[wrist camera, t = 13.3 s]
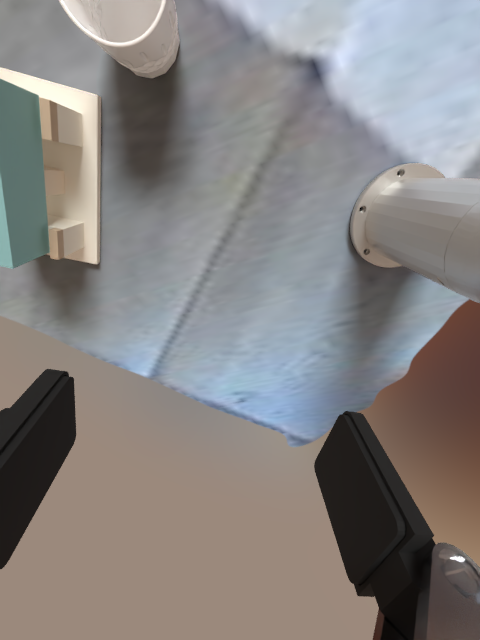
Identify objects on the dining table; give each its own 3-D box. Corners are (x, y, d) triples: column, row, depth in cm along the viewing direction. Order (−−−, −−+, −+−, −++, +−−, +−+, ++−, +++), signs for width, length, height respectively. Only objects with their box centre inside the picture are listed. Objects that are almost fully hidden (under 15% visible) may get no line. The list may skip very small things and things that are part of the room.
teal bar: (38, 95, 24) (-14, 72, 19) (49, 252, 30) (13, 268, 25) (-13, 81, 24) (-81, 53, 18) (9, 244, 30) (-37, 259, 25)
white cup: (201, 55, 28) (190, -1, 19) (139, 103, 30) (103, 72, 21) (151, -47, 25) (111, -170, 16) (84, 13, 26) (14, -69, 18)
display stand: (101, 97, 29) (67, 75, 23) (99, 262, 37) (74, 280, 31) (-4, 67, 28) (-72, 35, 22) (17, 245, 36) (-28, 261, 29)
